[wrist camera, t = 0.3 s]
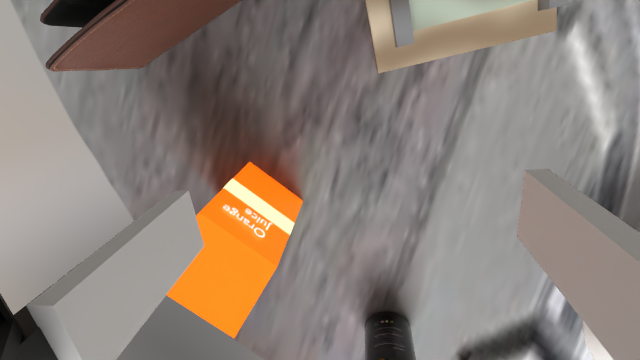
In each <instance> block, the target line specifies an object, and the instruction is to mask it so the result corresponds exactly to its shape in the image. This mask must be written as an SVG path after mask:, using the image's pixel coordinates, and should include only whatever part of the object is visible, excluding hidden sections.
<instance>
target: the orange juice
mask: <svg viewBox="0 0 640 360" xmlns="http://www.w3.org/2000/svg"><path fill="white" fill-rule="evenodd" d="M302 202H303V200H301V199H300V198H298V197H297V196H296V195H294V194H293V193H292V192H290V191H289V190H288V189H286V188H285V187H284V186H282V185H281V184H279V183H278V182H277V181H275V180H274V179H273V178H271V177H270V176H269V175H267V174H266V173H265V172H263V171H262V170H260V169H259V168H258V167H256V166H255V165H254V164H252V163H251V162H249V163H248V164H247V165H246V166H245V167H244V168H243V169H242V170H241V171H240V172H239V173H238V174H237V175H236V176H235V177H234V178H232V179H231V180H230V181H229V182H228V183H227V184H226V185H225V186H224V187H223V189H222V190H221V191H220V192H219V193H218V194H217V195H216V196H215V197H214V198H213V199H212V200H211V201H210V202H209V203H208V204H207V205H206V206H205V207H204V208H203V209H202V210H201V211H200V212H199V213H198V214H197V216H196V218H197V222H198V225H199V229H200V232H201V235H202V239H203V242H204V247H203V248H202V250H201V251H200V252H199V254H198V255H197V256H196V257H195V259H194V260H193V261H192V263H191V264H190V265H189V266H188V268H187V269H186V270H185V272H184V273H183V274H182V275H181V277H180V278H179V279H178V281H177V282H176V283H175V284H174V286H173V287H172V288H171V289H170V291H169V292H168V293H167V296H169V297H170V298H172V299H173V300H175V301H177V302H178V303H180V304H181V305H183V306H184V307H186V308H188V309H189V310H191V311H192V312H194V313H196V314H197V315H199V316H200V317H202V318H203V319H205V320H206V321H208V322H209V323H211V324H212V325H214V326H216V327H217V328H219V329H220V330H222V331H224V332H225V333H226V334H228V335H230V336H231V337H233V338H235V336H236V334H237V333H238V331H239V329H240V328H241V326H242V324H243V323H244V321H245V319H246V318H247V316H248V314H249V313H250V311H251V309H252V308H253V306H254V304H255V303H256V301H257V299H258V298H259V296H260V294H261V293H262V291H263V289H264V288H265V286H266V284H267V283H268V281H269V279H270V278H271V276H272V274H273V273H274V271H275V270H276V268H277V265H278V263H279V260H280V258H281V255H282V253H283V250H284V248H285V245H286V243H287V240H288V238H289V235H290V234H291V231H292V229H293V226H294V224H295V223H294V222H295V220H296V217H297V215H298V212H299V210H300V207H301V205H302Z"/></svg>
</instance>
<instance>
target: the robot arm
mask: <svg viewBox="0 0 640 360" xmlns="http://www.w3.org/2000/svg"><path fill="white" fill-rule="evenodd" d="M517 237H518V238H519V239H520V241H521V242H522V243H523V245H524V246H525V247H526V248H527V250H528V251H529V252H530V254H531V255H532V256H533V257H534V259H535V260H536V261H537V262H538V264H539V265H540V266H541V268H542V269H543V270H544V271H545V273H546V274H547V275H548V276H549V278H550V279H551V280H552V282H553V283H554V284H555V285H556V287H557V288H558V289H559V291H560V292H561V293H562V294H563V296H564V297H565V298H566V299H567V301H568V302H569V303H570V305H571V306H572V307H573V308H574V310H575V311H576V312H577V314H578V315H579V316H580V317H581V319H582V320H583V321H584V322H585V324H586V325H587V326H588V328H589V329H590V330H591V331H592V333H593V334H594V335H595V337H596V338H597V339H598V340H599V342H600V343H601V344H602V345H603V347H604V348H605V349H606V351H607V352H608V353H609V354H610V356H611V357H612V358H613V360H640V232H638V231H637V230H635V229H634V228H632V227H631V226H629V225H628V224H627V223H625V222H624V221H622V220H621V219H619V218H618V217H617V216H615V215H614V214H612V213H611V212H609V211H608V210H606V209H605V208H604V207H602V206H601V205H599V204H598V203H596V202H595V201H594V200H592V199H591V198H589V197H588V196H586V195H585V194H583V193H582V192H581V191H579V190H578V189H576V188H575V187H573V186H572V185H571V184H569V183H568V182H566V181H565V180H563V179H562V178H560V177H559V176H558V175H556V174H555V173H553V172H552V171H550V170H549V169H540V170H525V174H524V182H523V191H522V199H521V207H520V215H519V223H518V231H517ZM203 247H204V242H203V239H202V235H201V232H200V229H199V225H198V222H197V218H196V215H195V211H194V208H193V204H192V201H191V198H190V194H189V191H173V192H171V193H169V194H168V195H167V196H166V197H164V198H163V199H162V200H160V201H159V202H158V203H157V204H155V205H154V206H153V207H152V208H150V209H149V210H148V211H146V212H145V213H144V214H143V215H141V216H140V217H139V218H138V219H136V220H135V221H134V222H132V223H131V224H130V225H129V226H128V227H126V228H125V229H123V230H122V231H121V232H120V233H119V234H117V235H116V236H115V237H113V238H112V239H111V240H110V241H108V242H107V243H106V244H104V245H103V246H102V247H101V248H99V249H98V250H97V251H95V252H94V253H93V254H92V255H90V256H89V257H88V258H87V259H85V260H84V261H83V262H81V263H80V264H78V265H77V266H76V267H75V268H73V269H72V270H71V271H69V272H68V273H67V274H66V275H64V276H63V277H62V278H61V279H59V280H58V281H57V282H56V283H55V284H53V285H52V286H50V287H49V288H48V289H46V290H45V291H44V292H43V293H42V294H40V295H39V296H38V297H36V298H35V299H34V300H32V301H31V302H30V303H29V304H27V305H26V306H25V307H23V308H22V309H21V310H20V311H18V312H17V313H16V314H15V315H13V314H12V312H11V311H10V309H9V307H8V306H7V304H6V302H5V301H4V299H3V297H2V296H1V294H0V360H116V359H117V358H118V356H119V355H120V354H121V352H122V351H123V350H124V348H125V347H126V346H127V345H128V343H129V342H130V341H131V340H132V338H133V337H134V336H135V334H136V333H137V332H138V331H139V329H140V328H141V327H142V325H143V324H144V323H145V322H146V320H147V319H148V318H149V316H150V315H151V314H152V313H153V311H154V310H155V309H156V307H157V306H158V305H159V304H160V302H161V301H162V300H163V298H164V297H165V296H166V295H167V293H168V292H169V291H170V289H171V288H172V287H173V286H174V284H175V283H176V282H177V281H178V279H179V278H180V277H181V275H182V274H183V273H184V272H185V270H186V269H187V268H188V266H189V265H190V264H191V263H192V261H193V260H194V259H195V257H196V256H197V255H198V254H199V252H200V251H201V250H202V248H203Z"/></svg>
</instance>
